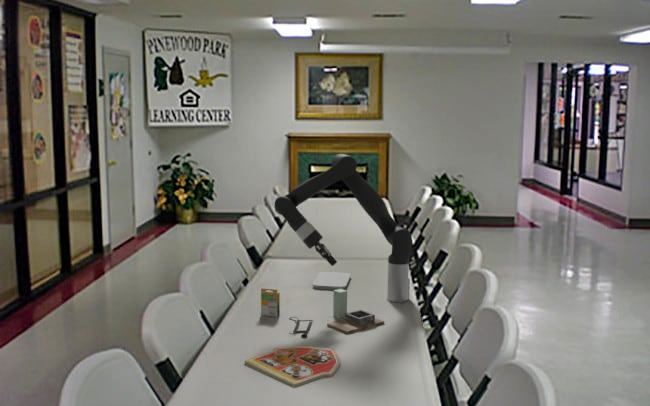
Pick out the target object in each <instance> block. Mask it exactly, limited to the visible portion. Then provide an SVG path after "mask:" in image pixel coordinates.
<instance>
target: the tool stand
mask: <svg viewBox="0 0 650 406" xmlns="http://www.w3.org/2000/svg"><path fill="white" fill-rule="evenodd" d="M375 316H376V314H374V313H371V312H368V311H365V310H362V309H357V310H353V311H350V312H347V313H345V317H344V318H343V319H342V318H341V319H339V320H335V321H331V322H328V323H327V324H326V326H327V327H328V328H331V329H333V330H336V331H338V332H340V333H343V334H346V335H349V334H353V333H356V332H359V331H363V330H366V329H369V328H373V327H377V326H380V325H384V324H385V321H384V320H383V319H379V318H378V317H375Z"/></svg>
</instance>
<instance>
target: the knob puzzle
mask: <svg viewBox="0 0 650 406" xmlns="http://www.w3.org/2000/svg"><path fill="white" fill-rule="evenodd" d="M244 365H246V366H249V367H251V368H252V369H255V370H257V371H259V372H261V373H263V374H265V375H267V376H270V377H271V378H274V379H276V380H278V381H280V382H282V383H285V384H287V385H289V386H291V387H293V388H295V387H299V386H302V385H305V384H307V383H309V382H313V381H316V380H319V379H321V378H322V379H323V378H329V377H330V378H331V377H333V376H334V375H335V373H336V372H337V371H338V369H339V368H340V366H341V360H340V357H339V355H338V352H336V350H335V349H333V348H326V347H318V346H317V347H315V346H303V345H299V346H284V347H282V346H281V347H276V348H273V349H272V350H270V351H268V352H265V353H262V354H258V355H256V356H253V357H250V358H247V359H245V360H244Z"/></svg>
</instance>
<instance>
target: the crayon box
mask: <svg viewBox="0 0 650 406" xmlns="http://www.w3.org/2000/svg"><path fill="white" fill-rule="evenodd" d="M260 302H261V303H260V315H261V316H264V317H265V316H266V317H275V318H278V317H279V316H280V315H281V313H280V306H281V305H280V303H281V301H280V292H278V289H271V288H262V287H261V288H260Z"/></svg>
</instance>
